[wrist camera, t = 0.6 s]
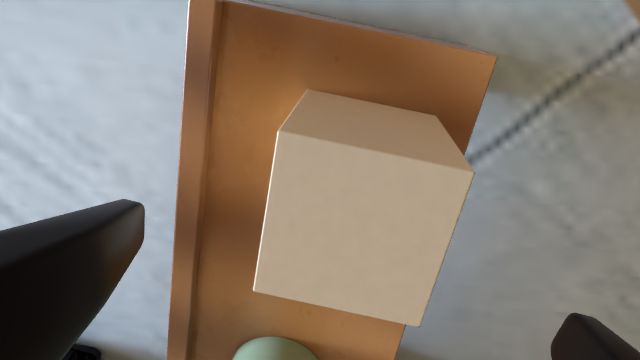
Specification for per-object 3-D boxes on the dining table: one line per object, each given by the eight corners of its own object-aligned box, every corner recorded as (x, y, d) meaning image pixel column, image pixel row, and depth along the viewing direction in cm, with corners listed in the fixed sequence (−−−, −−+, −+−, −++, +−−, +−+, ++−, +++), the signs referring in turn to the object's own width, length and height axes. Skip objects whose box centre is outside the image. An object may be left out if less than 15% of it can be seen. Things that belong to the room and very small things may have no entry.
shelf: (367, 363, 27) (369, 449, 22) (202, 326, 27) (163, 403, 22) (466, 45, 19) (506, 58, 14) (235, -3, 20) (188, -7, 14)
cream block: (402, 229, 18) (419, 328, 12) (286, 204, 18) (252, 292, 12) (436, 115, 16) (475, 172, 10) (307, 88, 16) (277, 130, 10)
